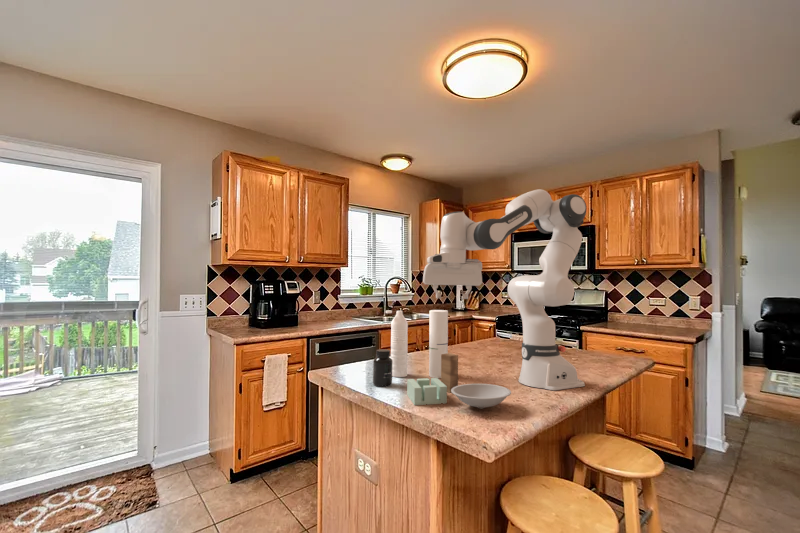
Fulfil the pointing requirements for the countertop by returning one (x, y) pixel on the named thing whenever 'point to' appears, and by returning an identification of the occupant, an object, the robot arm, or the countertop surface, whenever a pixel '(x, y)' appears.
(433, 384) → the socket
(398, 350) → the water bottle
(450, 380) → the peg
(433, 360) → the cylindrical container
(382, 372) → the supplement bottle
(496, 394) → the dish
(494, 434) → the countertop surface
